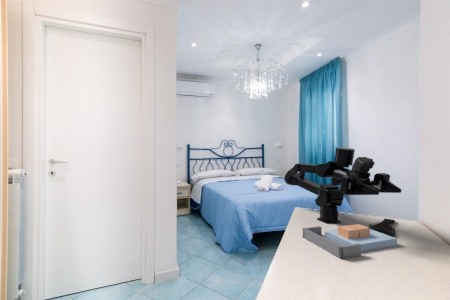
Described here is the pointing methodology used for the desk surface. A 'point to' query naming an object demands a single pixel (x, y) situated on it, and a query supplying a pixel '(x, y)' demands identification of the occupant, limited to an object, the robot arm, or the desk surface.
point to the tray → (331, 243)
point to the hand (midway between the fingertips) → (390, 192)
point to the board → (364, 240)
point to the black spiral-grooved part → (384, 227)
